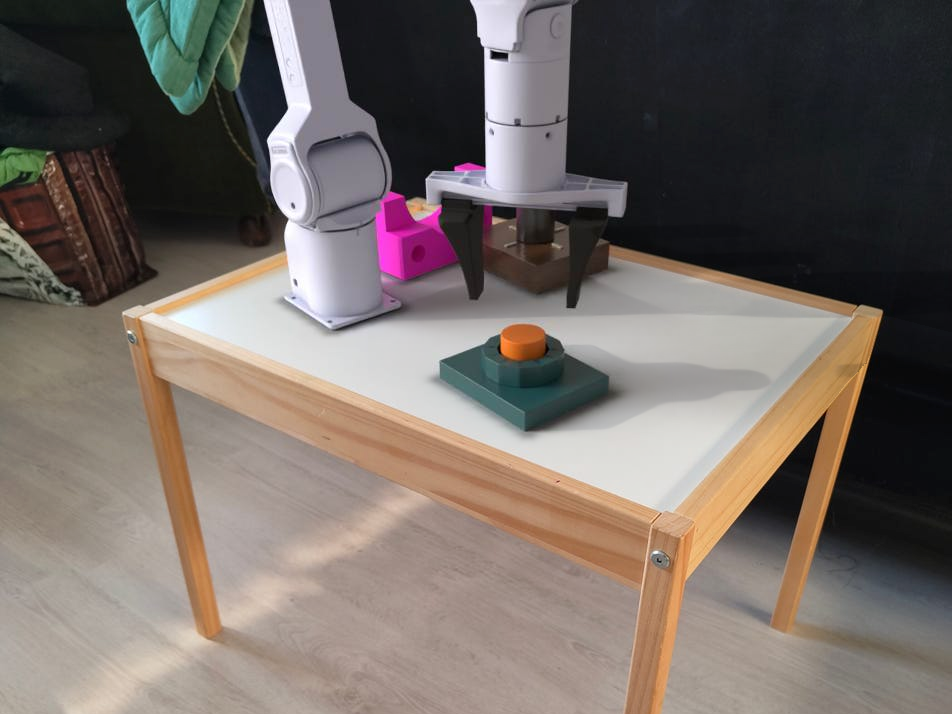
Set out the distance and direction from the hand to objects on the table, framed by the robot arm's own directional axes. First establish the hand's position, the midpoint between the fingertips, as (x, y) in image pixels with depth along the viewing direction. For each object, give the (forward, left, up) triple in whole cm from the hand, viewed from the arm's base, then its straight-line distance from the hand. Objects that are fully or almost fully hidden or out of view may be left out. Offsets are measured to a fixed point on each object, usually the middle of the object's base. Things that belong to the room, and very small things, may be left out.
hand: (524, 299), depth 70 cm
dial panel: (-19, +18, -8) cm, 27 cm away
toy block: (-28, +12, -8) cm, 31 cm away
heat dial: (-19, +18, -5) cm, 27 cm away
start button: (0, 0, -5) cm, 5 cm away
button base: (0, 0, -8) cm, 8 cm away
